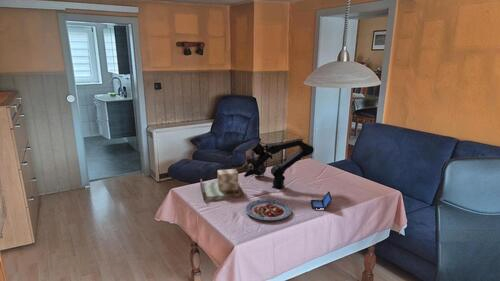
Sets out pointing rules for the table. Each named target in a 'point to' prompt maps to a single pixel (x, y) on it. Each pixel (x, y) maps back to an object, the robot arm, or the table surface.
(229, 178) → the birch block
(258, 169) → the robot arm
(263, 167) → the alarm clock
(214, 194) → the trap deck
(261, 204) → the ceramic plate
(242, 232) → the table surface
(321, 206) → the handheld game console
